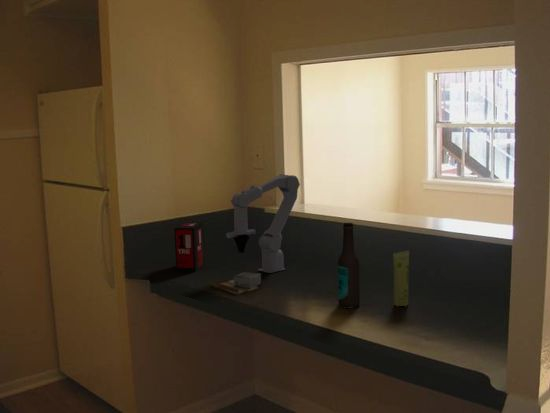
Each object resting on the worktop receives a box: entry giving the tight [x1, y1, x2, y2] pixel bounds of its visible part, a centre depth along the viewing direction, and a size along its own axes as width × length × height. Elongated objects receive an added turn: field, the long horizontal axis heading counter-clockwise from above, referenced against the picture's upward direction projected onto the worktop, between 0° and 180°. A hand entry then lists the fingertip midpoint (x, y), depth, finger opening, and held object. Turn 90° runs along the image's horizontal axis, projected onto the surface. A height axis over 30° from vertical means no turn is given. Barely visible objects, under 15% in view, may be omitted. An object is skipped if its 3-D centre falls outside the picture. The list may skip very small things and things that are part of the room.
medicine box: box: [233, 271, 262, 289], centre depth 248 cm, size 8×4×9 cm
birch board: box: [212, 279, 259, 295], centre depth 248 cm, size 11×16×2 cm
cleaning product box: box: [173, 221, 206, 273], centre depth 284 cm, size 16×9×20 cm, turn 172°
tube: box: [392, 250, 410, 307], centre depth 218 cm, size 6×5×20 cm
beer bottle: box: [337, 222, 361, 309], centre depth 218 cm, size 8×8×30 cm
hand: (241, 252), depth 266 cm, fingers closed
